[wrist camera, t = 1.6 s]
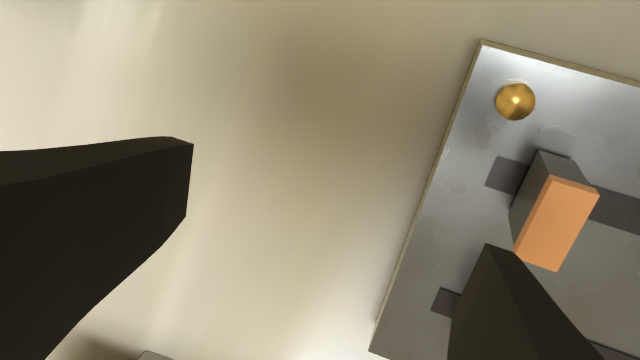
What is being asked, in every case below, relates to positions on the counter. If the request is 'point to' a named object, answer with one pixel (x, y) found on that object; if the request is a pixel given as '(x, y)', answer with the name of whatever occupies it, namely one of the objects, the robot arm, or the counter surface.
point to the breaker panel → (501, 190)
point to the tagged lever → (550, 210)
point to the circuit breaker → (152, 356)
